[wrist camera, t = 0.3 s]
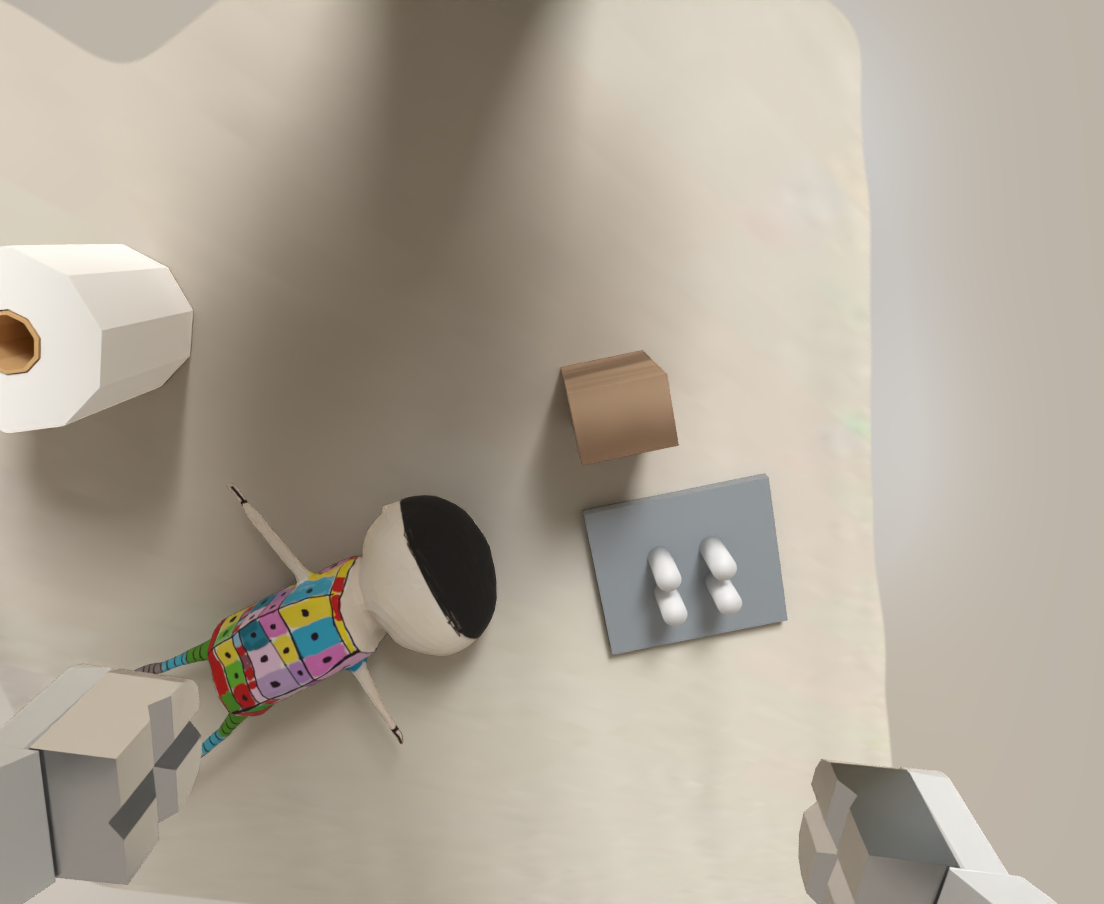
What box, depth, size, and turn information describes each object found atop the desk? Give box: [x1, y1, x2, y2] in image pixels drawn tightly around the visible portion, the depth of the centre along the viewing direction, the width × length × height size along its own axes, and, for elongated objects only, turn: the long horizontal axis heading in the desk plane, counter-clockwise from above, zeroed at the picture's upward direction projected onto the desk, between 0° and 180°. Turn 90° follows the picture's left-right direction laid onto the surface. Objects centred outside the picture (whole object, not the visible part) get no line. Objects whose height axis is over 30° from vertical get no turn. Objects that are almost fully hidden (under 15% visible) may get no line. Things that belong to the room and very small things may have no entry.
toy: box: [134, 483, 497, 758], centre depth 56 cm, size 23×9×30 cm
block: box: [561, 350, 679, 465], centre depth 51 cm, size 4×6×10 cm
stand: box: [583, 474, 787, 655], centre depth 57 cm, size 12×14×5 cm
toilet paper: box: [0, 244, 193, 433], centre depth 48 cm, size 10×10×12 cm
